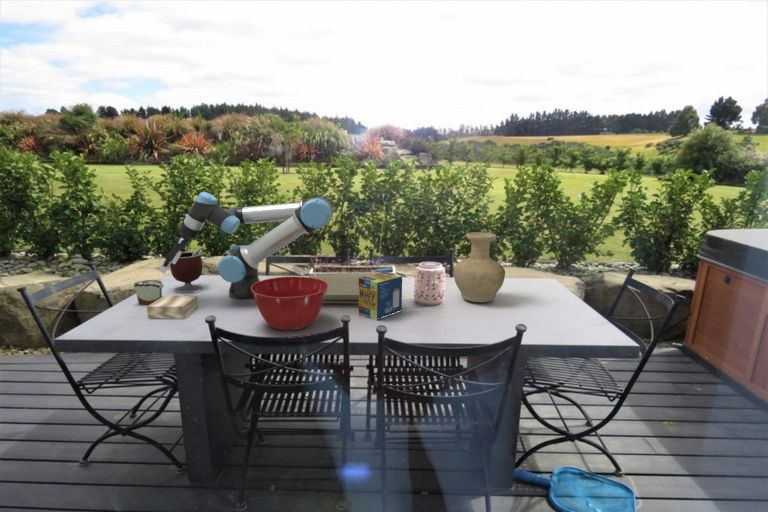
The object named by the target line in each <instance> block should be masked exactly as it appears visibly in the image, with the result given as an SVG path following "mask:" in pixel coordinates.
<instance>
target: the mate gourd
mask: <svg viewBox="0 0 768 512" xmlns="http://www.w3.org/2000/svg"><path fill="white" fill-rule="evenodd" d="M202 249H204V246H200V247H199V248H197V249H196V250H194V251H185V252H183V251H182V254H181V255H180V257H179V259H178V260H177V262H176V264H173V263H171V264H170V266H169V268H170V271H171V275H172V277H173V278H174V279H175V280H176V281H179V282H182V283H184V285H181V286H177V287H175V288H174V293H176V292H178V293H177V294H190V293H189V292H193V293H196V292H195V291H198V290H200V291H202V290H203V286H202V285H198V284H192V283H193V282H194V281H196V280H198V279H199V278H200V277H201V275H202V273H203V260H202V256H201V253H200V251H201V250H202ZM201 289H202V290H201ZM198 292H199V291H198Z"/></svg>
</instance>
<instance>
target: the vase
mask: <svg viewBox="0 0 768 512" xmlns="http://www.w3.org/2000/svg"><path fill="white" fill-rule="evenodd" d="M465 238H466V239H467V240H469V241H470V243H471V247H470V256H469V257H468V258H464V259H462V260H461V261H459V262H457V263H456V264H455V266H454V268H453V278H454V282H455V285H456V286H457V289H458V291H460V295H461V298H462V299H464V300H466V301H469V302H473V303H487V302H491V301H494V300H495V298H496V295H497V293H498V292H499V290H501V289H502V286H503V285H504V281H505V277H506V270H505V268H504V266H503V265H502V264H501V263H499V262H498V261H496V260H495V259H492V258H491V257H490V245H491V242H492V241H495V239H497V234H494V233H490V232H481V231H479V232H477V231H476V232H474V231H473V232H467V233H466V234H465Z"/></svg>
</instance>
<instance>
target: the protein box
mask: <svg viewBox="0 0 768 512" xmlns="http://www.w3.org/2000/svg"><path fill="white" fill-rule="evenodd" d="M402 302H403V276H402V275H400V274H399V275H398V274H396V273H392V272H387V271H380V272H377V273H373V274H370V275H365V276H363V277H362V276H360V277H358V315H359V314H361V315H360V316H362V315H364V316H363V317H365V316H367V317H366V318H368V317H371V318H374V319H378V318H381V317H383V316H386V315H389V314H392V313H395V312H397V311H400V310H402V309H403V306H402V304H403V303H402ZM371 318H370V319H371ZM374 319H373V320H374Z"/></svg>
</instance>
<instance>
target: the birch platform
mask: <svg viewBox="0 0 768 512" xmlns="http://www.w3.org/2000/svg"><path fill="white" fill-rule="evenodd" d="M198 308H199V302H198V296H197V295H162V297H161V298H159V299H158V300H156V301H155V302H153V303H152V304H150V305H149V306H146V310H147V311H146V312H147V318H172V319H173V320H177V319H180V320H182V319H183V320H184V319H186V318H187V317H188V316H190V315H191V314H193V312H194V311H195V310H196V309H198ZM172 319H171V320H172Z"/></svg>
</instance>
